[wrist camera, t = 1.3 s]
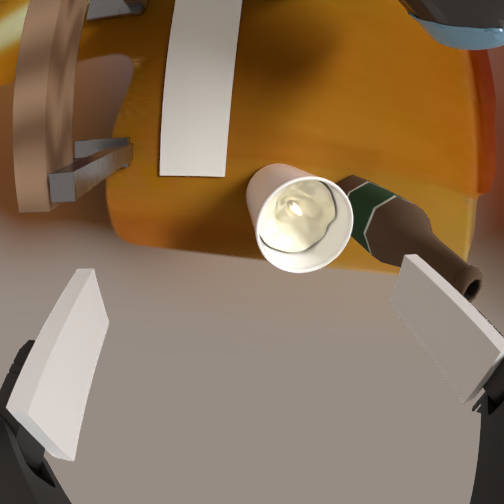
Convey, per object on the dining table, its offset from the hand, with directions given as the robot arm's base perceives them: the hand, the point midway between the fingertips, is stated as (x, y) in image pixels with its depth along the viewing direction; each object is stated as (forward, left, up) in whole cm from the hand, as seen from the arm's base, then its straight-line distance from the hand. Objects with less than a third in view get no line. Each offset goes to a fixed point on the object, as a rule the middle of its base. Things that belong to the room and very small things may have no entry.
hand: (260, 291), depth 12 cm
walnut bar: (-12, -15, -15) cm, 24 cm away
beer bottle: (+3, +19, -27) cm, 33 cm away
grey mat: (-12, -3, -27) cm, 30 cm away
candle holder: (+3, +8, -27) cm, 28 cm away
